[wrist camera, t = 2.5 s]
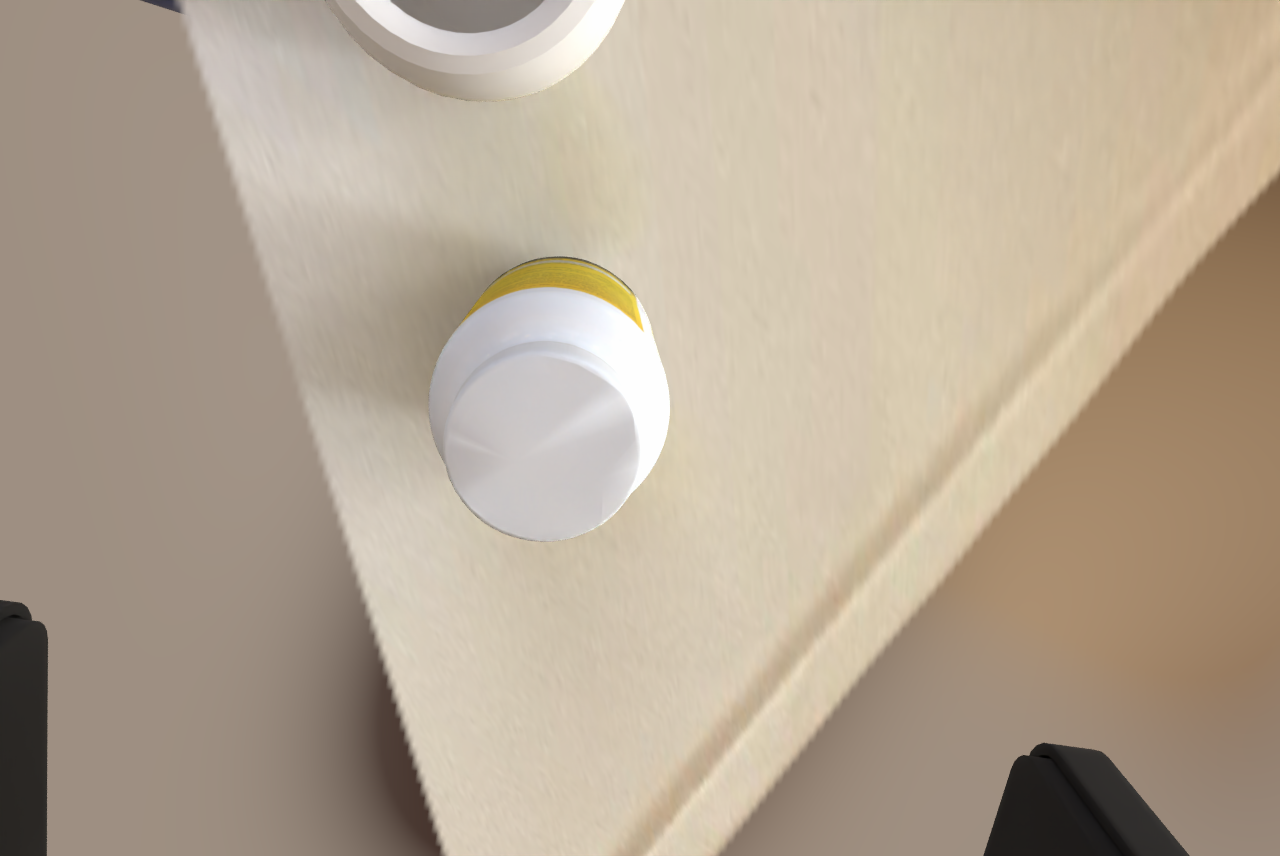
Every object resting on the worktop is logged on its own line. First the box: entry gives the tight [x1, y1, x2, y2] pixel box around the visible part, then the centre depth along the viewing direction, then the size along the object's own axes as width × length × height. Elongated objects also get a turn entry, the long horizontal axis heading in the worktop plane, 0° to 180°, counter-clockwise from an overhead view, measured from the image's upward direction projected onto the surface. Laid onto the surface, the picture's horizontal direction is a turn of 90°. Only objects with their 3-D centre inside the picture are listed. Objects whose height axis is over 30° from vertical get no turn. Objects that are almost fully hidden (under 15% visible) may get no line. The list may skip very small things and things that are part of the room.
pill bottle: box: [429, 257, 670, 542], centre depth 28 cm, size 6×6×12 cm
